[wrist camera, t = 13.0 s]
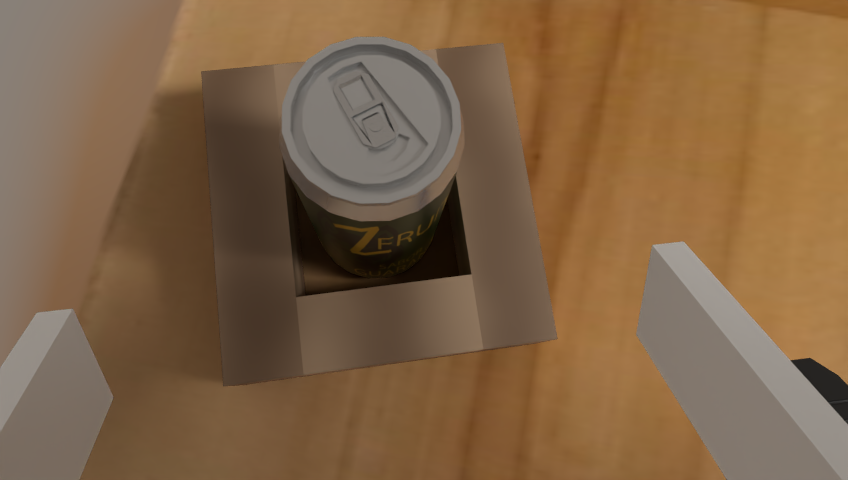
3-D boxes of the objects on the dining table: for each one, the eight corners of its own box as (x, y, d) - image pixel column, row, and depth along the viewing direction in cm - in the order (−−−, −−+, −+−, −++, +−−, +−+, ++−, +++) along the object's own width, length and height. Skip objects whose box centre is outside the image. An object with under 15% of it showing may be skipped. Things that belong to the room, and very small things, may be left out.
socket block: (489, 80, 30) (503, 42, 27) (535, 343, 28) (557, 338, 24) (222, 107, 29) (201, 71, 26) (244, 384, 26) (223, 386, 23)
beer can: (297, 200, 28) (238, 78, 17) (399, 149, 29) (410, -1, 18) (352, 302, 27) (329, 248, 16) (455, 246, 28) (506, 156, 17)
